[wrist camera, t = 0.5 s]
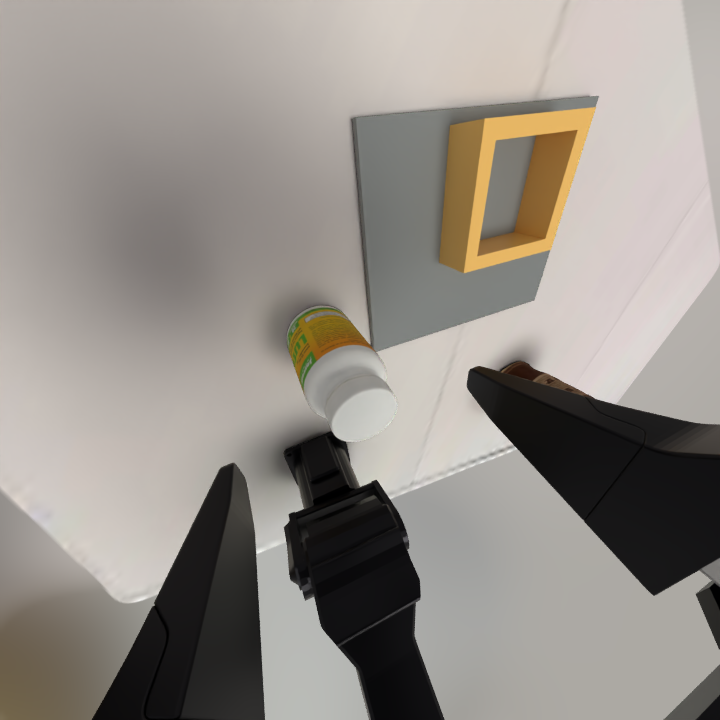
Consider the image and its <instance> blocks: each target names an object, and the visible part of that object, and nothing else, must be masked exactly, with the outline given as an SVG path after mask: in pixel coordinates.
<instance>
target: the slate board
mask: <svg viewBox="0 0 720 720" xmlns="http://www.w3.org/2000/svg"><path fill="white" fill-rule="evenodd" d="M598 97H599V96H592V97H581V98H570V99H558V100H547V101H536V102H524V103H513V104H502V105H491V106H479V107H468V108H457V109H445V110H434V111H423V112H411V113H400V114H389V115H377V116H366V117H356V118H353V119H352V123H353V135H354V146H355V158H356V170H357V181H358V193H359V204H360V216H361V228H362V239H363V251H364V262H365V274H366V286H367V297H368V309H369V320H370V332H371V344H372V348H373V349H374V350H375V351H376V352H377V351H380V350H383V349H386V348H389V347H392V346H395V345H399V344H402V343H405V342H408V341H411V340H414V339H417V338H420V337H423V336H426V335H429V334H432V333H435V332H438V331H441V330H445V329H448V328H451V327H454V326H457V325H460V324H463V323H466V322H469V321H472V320H475V319H478V318H481V317H484V316H487V315H491V314H494V313H497V312H500V311H503V310H506V309H509V308H512V307H515V306H518V305H521V304H524V303H527V302H530V301H534V300H535V296H536V293H537V290H538V287H539V284H540V281H541V277H542V274H543V271H544V268H545V265H546V262H547V258H548V255H549V252H550V250H548V251H544V252H541V253H537V254H533V255H530V256H526V257H522V258H519V259H515V260H511V261H507V262H504V263H500V264H496V265H493V266H489V267H485V268H482V269H478V270H474V271H471V272H467V273H462V272H459V271H457V270H455V269H453V268H450V267H448V266H446V265H444V264H441V263H439V257H440V245H441V232H442V219H443V207H444V194H445V181H446V169H447V156H448V144H449V131H450V125H454V124H459V123H464V122H469V121H475V120H480V119H485V118H495V117H505V116H514V115H524V114H534V113H544V112H553V111H563V110H573V109H583V108H592V107H596V104H597V101H598ZM535 139H536V135H533V136H526V137H518V138H510V139H502V140H496V143H495V149H494V155H493V161H492V167H491V174H490V180H489V186H488V192H487V198H486V205H485V211H484V217H483V223H482V229H481V236H480V240H483V239H488V238H492V237H496V236H500V235H504V234H508V233H513V232H514V230H515V226H516V222H517V217H518V213H519V209H520V204H521V200H522V196H523V191H524V187H525V183H526V178H527V174H528V169H529V165H530V161H531V156H532V152H533V148H534V143H535Z"/></svg>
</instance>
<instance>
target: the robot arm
mask: <svg viewBox="0 0 720 720" xmlns="http://www.w3.org/2000/svg"><path fill="white" fill-rule="evenodd" d="M467 388H468V390H469V392H470V393H471V394H472V396H473V397H474V398H475V400H476V401H477V402H478V404H479V405H480V406H481V408H482V409H483V410H484V412H485V413H486V414H487V415H488V417H489V418H490V419H491V420H492V422H493V423H494V424H495V425H496V426H497V427H498V428H499V429H500V430H501V432H502V433H503V434H504V435H505V436H506V437H507V438H508V439H509V440H510V441H511V442H512V443H513V445H514V446H515V447H516V448H517V449H518V450H519V451H520V452H521V453H522V454H523V455H524V457H525V458H526V459H527V460H528V461H529V462H530V463H531V464H532V465H533V466H534V467H535V468H536V470H537V471H538V472H539V473H540V474H541V475H542V476H543V477H544V478H545V479H546V480H547V481H548V483H549V484H550V485H551V486H552V487H553V488H554V489H555V490H556V491H557V492H558V493H559V494H560V496H561V497H563V499H564V500H565V501H566V502H567V503H568V504H569V505H570V506H571V507H572V508H573V510H574V511H575V512H576V513H577V514H578V515H579V516H580V517H581V518H582V519H583V520H584V522H585V523H586V524H587V525H588V526H589V527H590V528H591V529H592V531H593V532H594V533H595V534H596V535H597V536H598V537H599V538H600V539H601V540H602V541H603V542H604V543H605V545H606V546H607V547H608V548H609V549H610V550H611V551H612V552H613V553H614V554H615V555H616V557H617V558H618V559H619V560H620V561H621V562H622V563H623V564H624V565H625V566H626V567H627V568H628V570H629V571H630V572H631V573H632V574H633V575H634V576H635V577H636V578H637V579H638V580H639V582H640V583H641V584H642V585H643V586H644V587H645V588H646V589H647V590H648V591H649V592H650V593H651V594H652V595H654V596H655V595H657V594H658V593H660V592H662V591H664V590H665V589H667V588H669V587H671V586H672V585H674V584H676V583H678V582H679V581H681V580H683V579H684V578H686V577H688V576H690V575H691V574H693V573H695V572H697V571H698V570H700V571H701V572H702V573H703V574H704V575H706V576H707V577H708V578H709V579H711V580H712V581H711V582H709V583H708V584H707V585H706V586H705V587H704V588H702V589H701V590H700V591H699V592H698V593H696V596H697V598H698V601H699V603H700V605H701V608H702V610H703V612H704V614H705V617H706V619H707V622H708V624H709V627H710V629H711V631H712V634H713V636H714V638H715V641H716V643H717V645H718V648H719V649H720V425H716V424H715V425H714V424H700V423H693V422H688V421H683V420H679V419H674V418H670V417H666V416H662V415H657V414H653V413H649V412H644V411H640V410H635V409H632V408H627V407H623V406H619V405H615V404H612V403H608V402H604V401H601V400H597V399H594V398H590V397H587V396H585V397H584V396H583V395H579V394H576V393H572V392H569V391H565V390H562V389H558V388H555V387H551V386H548V385H544V384H541V383H537V382H534V381H531V380H527V379H524V378H520V377H517V376H513V375H510V374H506V373H503V372H499V371H496V370H492V369H489V368H485V367H482V366H477V367H474V368H472V369H470V370H469V373H468V380H467ZM284 457H285V459H286V461H287V464H288V466H289V468H290V470H291V472H292V474H293V476H294V479H295V481H296V483H297V485H298V486H299V490H300V494H301V499H302V503H303V507H304V509H303V510H301V511H298V512H296V513H295V512H293V513H290V514H289V519H290V521H289V523H288V524H287V525H286V526H285V527H284V530H285V536H286V542H287V551H288V563H289V575H290V579H291V581H293V582H294V583H296V584H297V585H299V588H300V590H302V591H303V595H304V598H305V600H308V599H310V598H312V597H315V602H316V606H317V611H318V615H319V620H320V624H321V627H322V629H323V630H324V631H325V633H326V634H327V635H328V636H329V637H330V638H331V639H332V641H333V642H334V643H335V644H336V645H337V646H338V648H339V649H340V650H341V651H342V652H343V653H344V654H345V656H346V657H347V658H348V659H349V660H350V661H351V663H352V664H353V665H354V666H355V667H356V670H357V674H358V678H359V682H360V686H361V690H362V694H363V698H364V702H365V706H366V709H367V713H368V717H369V720H444V717H443V714H442V712H441V709H440V706H439V703H438V701H437V698H436V695H435V692H434V690H433V687H432V684H431V682H430V679H429V676H428V673H427V670H426V668H425V665H424V662H423V659H422V657H421V654H420V651H419V648H418V645H417V643H416V640H415V636H414V631H415V606H416V602H417V601H419V600H420V596H421V595H420V580H419V577H418V575H417V573H416V570H415V568H414V566H413V564H412V561H411V559H410V556H409V554H408V551H407V550H408V549H409V540H408V536H407V532H406V529H405V526H404V524H403V521H402V519H401V517H400V515H399V513H398V511H397V510H396V508H395V507H394V505H393V504H392V502H391V500H390V499H389V497H388V496H387V494H386V493H385V491H384V490H383V488H382V487H381V485H380V484H379V482H378V481H377V480H374V481H372V482H371V483H369V484H367V485H364V486H362V487H360V485H359V483H358V481H357V478H356V476H355V474H354V471H353V469H352V467H351V464H350V458H349V453H348V448H347V444H346V441H342V440H340V439H338V438H337V437H336V436H335V435H334V434H333V432H330V433H328V434H325V435H323V436H320V437H317V438H315V439H312V440H310V441H307V442H305V443H302V444H299V445H297V446H294V447H292V448H289V449H287V450H285V451H284ZM154 604H155V606H153V607H152V608H151V610H150V612H149V614H148V616H147V618H146V620H145V622H144V624H143V626H142V628H141V630H140V632H139V634H138V636H137V638H136V640H135V642H134V644H133V646H132V648H131V650H130V652H129V654H128V656H127V658H126V659H125V661H124V663H123V665H122V667H121V668H120V670H119V672H118V674H117V676H116V677H115V679H114V681H113V683H112V685H111V687H110V688H109V690H108V692H107V694H106V696H105V697H104V700H103V701H102V703H101V705H100V706H99V708H98V710H97V711H96V713H95V715H94V717H93V718H92V720H265V713H264V693H263V676H262V656H261V637H260V620H259V600H258V582H257V565H256V544H255V530H254V523H253V517H252V512H251V506H250V500H249V494H248V489H247V483H246V480H245V477H244V475H243V474H242V472H241V471H240V469H239V468H238V466H237V465H236V464H235V463H231V464H228V465H226V466H223V467H221V468H220V470H219V471H218V473H217V476H216V478H215V480H214V482H213V484H212V486H211V488H210V490H209V492H208V494H207V496H206V498H205V500H204V502H203V504H202V506H201V508H200V510H199V512H198V514H197V516H196V518H195V520H194V522H193V524H192V527H191V529H190V531H189V533H188V535H187V537H186V539H185V541H184V543H183V545H182V547H181V549H180V551H179V553H178V555H177V557H176V559H175V561H174V563H173V565H172V567H171V569H170V571H169V573H168V575H167V578H166V580H165V582H164V584H163V586H162V588H161V590H160V592H159V594H158V596H157V598H156V600H155V602H154ZM664 720H720V665H719V666H718V667H717V668H716V669H715V670H714V671H713V672H712V673H711V674H710V675H709V676H708V677H707V678H706V679H705V680H704V681H703V682H702V683H700V685H699V686H697V687H696V688H695V689H694V690H693V691H692V693H690V694H689V695H688V696H687V697H686V698H685V699H684V700H683V701H682V702H681V703H680V704H679V705H678V706H677V707H676V708H675V709H674V710H673V711H672V712H671V713H670V714H669V715H668V716H667V717H666V718H665V719H664Z"/></svg>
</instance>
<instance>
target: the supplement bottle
mask: <svg viewBox="0 0 720 720" xmlns="http://www.w3.org/2000/svg"><path fill="white" fill-rule="evenodd" d="M287 346H288V350H289V353H290V356H291V358H292V361H293V364H294V367H295V370H296V373H297V376H298V378H299V381H300V384H301V387H302V390H303V392H304V395H305V398H306V400H307V402H308V404H309V406H310V408H311V409H312V410H313V411H314V412H315V413H316V414H318V415H319V416H321V417H323V418H326V419H327V421H328V423H329V426H330V428H331V430H332V432H333V434H334V435H335V436H336V437H337V438H338V439H340V440H342V441H346V442H359V441H364V440H367V439H369V438H371V437H373V436H375V435H377V434H378V433H380V432H381V431H383V430H384V429H385V428H386V427H387V426H388V425H389V424H390V423H391V421H392V420H393V418H394V417H395V414H396V412H397V407H398V403H397V399H396V397H395V395H394V393H393V392H392V391H391V389H390V388H389V386H388V384H387V383H386V381H387V373H386V368H385V365H384V363H383V361H382V360H381V358H380V357H379V355H378V354H377V353H376V351H375V350H374V349H373V348H372V347H371V346H370V344H369V343H368V342H367V341H366V340H365V339H364V337H363V336H362V335H361V334H360V332H359V331H358V330H357V329H356V328H355V326H354V325H353V324H352V323H351V321H350V320H349V319H348V318H347V317H346V315H345V314H344V313H343V312H341V311H340V310H338V309H336V308H334V307H330V306H315V307H311V308H308V309H306V310H304V311H303V312H301V313H300V314H298V315H297V316H296V317H295V318H294V320H293V321H292V322H291V324H290V326H289V328H288V331H287Z"/></svg>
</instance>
